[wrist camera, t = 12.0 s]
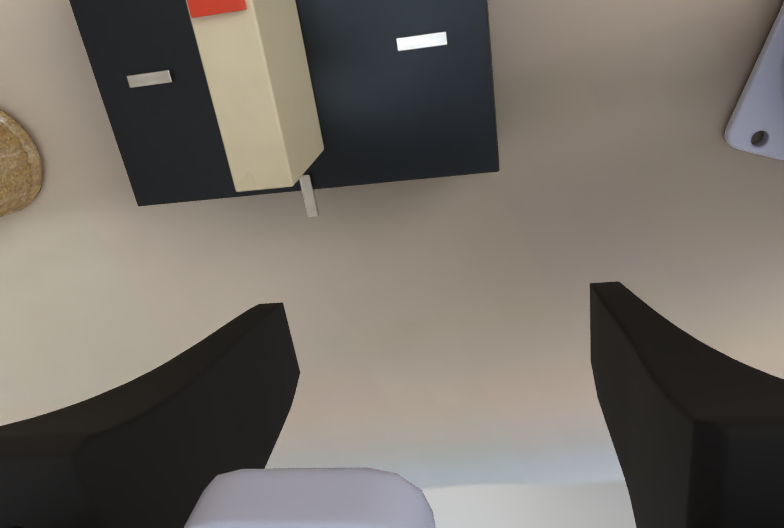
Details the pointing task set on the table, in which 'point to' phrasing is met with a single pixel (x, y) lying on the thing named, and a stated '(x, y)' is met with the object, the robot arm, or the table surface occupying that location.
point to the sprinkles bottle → (17, 167)
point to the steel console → (330, 88)
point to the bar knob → (259, 88)
